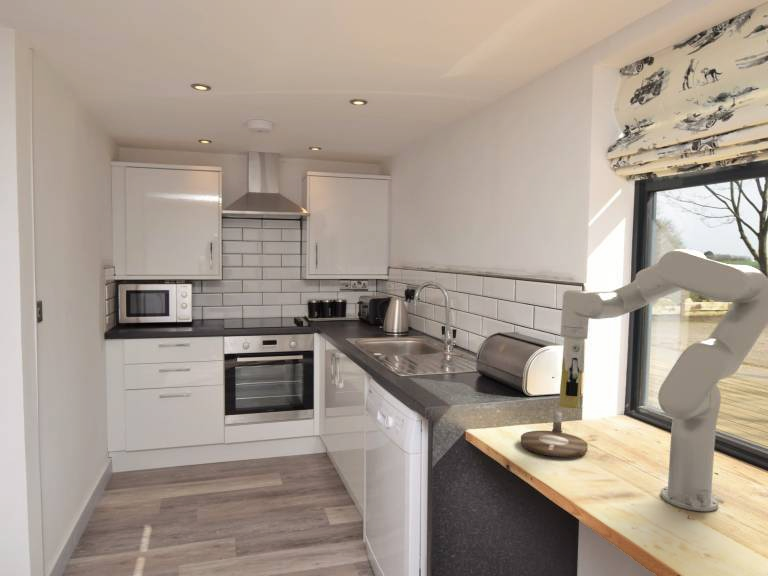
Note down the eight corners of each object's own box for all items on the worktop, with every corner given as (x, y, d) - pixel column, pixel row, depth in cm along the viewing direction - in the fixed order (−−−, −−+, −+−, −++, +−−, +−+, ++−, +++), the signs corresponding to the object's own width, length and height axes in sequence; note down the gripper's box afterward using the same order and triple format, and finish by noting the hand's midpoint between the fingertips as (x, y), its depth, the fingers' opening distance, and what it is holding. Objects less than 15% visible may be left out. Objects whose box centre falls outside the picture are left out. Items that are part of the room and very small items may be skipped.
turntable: (591, 459, 162) (593, 434, 162) (521, 452, 166) (522, 428, 166) (581, 436, 184) (582, 413, 184) (519, 430, 189) (520, 408, 188)
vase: (559, 407, 162) (562, 358, 161) (557, 401, 168) (560, 354, 167) (581, 409, 161) (584, 360, 160) (578, 403, 167) (581, 356, 166)
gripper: (592, 337, 154) (588, 402, 155) (582, 329, 170) (578, 387, 172) (564, 335, 155) (560, 399, 156) (557, 327, 172) (553, 385, 173)
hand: (569, 392), depth 164 cm, fingers closed on vase, 5 cm apart
